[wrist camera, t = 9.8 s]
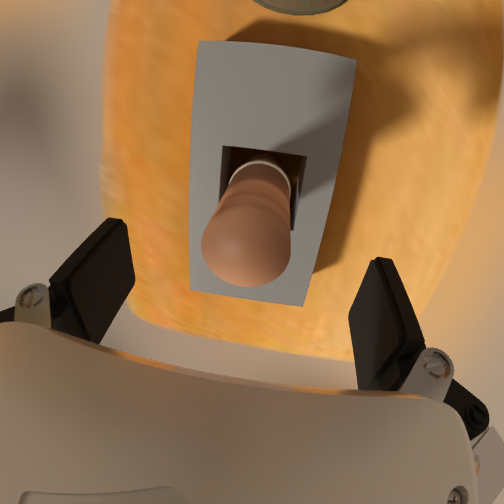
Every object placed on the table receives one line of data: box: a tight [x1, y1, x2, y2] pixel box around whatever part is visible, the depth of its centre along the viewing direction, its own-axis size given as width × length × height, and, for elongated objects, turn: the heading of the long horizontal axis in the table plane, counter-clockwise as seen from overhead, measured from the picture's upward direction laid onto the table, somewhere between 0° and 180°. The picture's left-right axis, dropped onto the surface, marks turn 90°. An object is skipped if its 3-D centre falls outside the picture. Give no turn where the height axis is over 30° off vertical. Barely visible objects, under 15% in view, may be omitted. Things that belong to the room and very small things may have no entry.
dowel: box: [201, 153, 291, 287], centre depth 18 cm, size 4×4×12 cm
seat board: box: [189, 41, 357, 307], centre depth 21 cm, size 20×10×4 cm, turn 174°
